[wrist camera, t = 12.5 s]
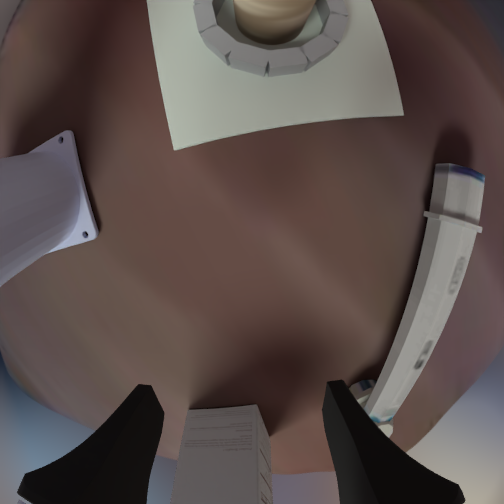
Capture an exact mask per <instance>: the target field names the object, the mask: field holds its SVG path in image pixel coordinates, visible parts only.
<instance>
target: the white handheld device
mask: <svg viewBox="0 0 504 504" xmlns="http://www.w3.org/2000/svg"><path fill="white" fill-rule="evenodd" d="M484 180H485V176H484V175H483V174H481V173H479V172H477V171H475V170H473V169H471V168H467V167H463V166H459V165H455V164H450V163H444V164H436V167H435V175H434V183H433V191H432V197H431V203H430V209H429V212H427V211H424V215H423V216H425V217H428V221H427V226H426V231H425V236H424V241H423V246H422V250H421V254H420V259H419V263H418V267H417V270H416V274H415V278H414V282H413V285H412V289H411V292H410V295H409V299H408V302H407V305H406V308H405V311H404V314H403V317H402V320H401V323H400V326H399V329H398V332H397V334H396V337H395V340H394V342H393V345H392V347H391V350H390V353H389V355H388V357H387V360H386V362H385V365H384V367H383V369H382V372H381V374H380V376H379V378H378V381H375V380H362V381H360V382H358V383H355V384H353V385H351V387H350V388H349V390H350V391H351V393H352V394H353V396H354V397H355V398H356V400H357V401H358V403H359V404H360V405H361V407H362V408H363V409H364V410H365V412H366V413H367V414H368V415H369V417H370V418H371V419H372V420H373V421H374V423H375V424H376V425H377V426H378V427H379V428H380V429H381V430H382V431H383V432H384V434H385V435H386V436H387V437H388V438H389V437H390V435H391V434H392V432H393V418H392V417H393V416H394V415H395V413H396V412H397V410H398V409H399V407H400V406H401V404H402V403H403V401H404V400H405V398H406V396H407V395H408V393H409V392H410V390H411V388H412V387H413V385H414V383H415V382H416V380H417V378H418V377H419V375H420V373H421V371H422V370H423V368H424V366H425V364H426V362H427V360H428V359H429V357H430V355H431V353H432V351H433V349H434V347H435V345H436V343H437V341H438V339H439V337H440V335H441V332H442V330H443V328H444V326H445V324H446V321H447V319H448V317H449V314H450V312H451V310H452V307H453V305H454V302H455V299H456V297H457V294H458V292H459V289H460V286H461V283H462V280H463V278H464V275H465V272H466V269H467V265H468V262H469V259H470V256H471V252H472V249H473V245H474V241H475V237H476V233H477V232H479V233H482V227H479V226H478V224H479V218H480V212H481V205H482V198H483V190H484Z"/></svg>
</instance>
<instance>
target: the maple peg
mask: <svg viewBox="0 0 504 504" xmlns="http://www.w3.org/2000/svg"><path fill="white" fill-rule="evenodd" d="M315 2H316V0H233V6H234V13H235V20H236V24H237V27H238V29H239V30H240V32H241V33H242V34H243V35H244V36H246V37H247V38H248V39H250V40H252V41H254V42H257V43H260V44H265V45H279V44H284V43H287V42H290V41H292V40H293V39H295V38H296V37H297V36H298V35H299V34H300V33H301V32H302V30H303V27H304V25H305V23H306V21H307V19H308V17H309V15H310V13H311V10H312V8H313V6H314V4H315Z"/></svg>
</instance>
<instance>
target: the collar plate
mask: <svg viewBox="0 0 504 504" xmlns="http://www.w3.org/2000/svg"><path fill="white" fill-rule="evenodd" d="M147 6H148V13H149V20H150V27H151V34H152V40H153V46H154V52H155V58H156V64H157V70H158V75H159V80H160V86H161V91H162V96H163V101H164V106H165V111H166V116H167V120H168V125H169V130H170V134H171V139H172V143H173V147H174V150H179V149H183V148H186V147H190V146H194V145H198V144H202V143H206V142H210V141H214V140H218V139H222V138H227V137H231V136H236V135H241V134H246V133H251V132H256V131H261V130H267V129H272V128H278V127H284V126H291V125H298V124H305V123H313V122H321V121H330V120H340V119H351V118H366V117H386V116H403V115H404V113H403V108H402V102H401V98H400V93H399V88H398V84H397V80H396V76H395V72H394V68H393V64H392V61H391V57H390V54H389V50H388V47H387V44H386V40H385V37H384V34H383V31H382V28H381V26H380V23H379V20H378V17H377V15H376V12H375V10H374V7H373V4H372V2H371V0H316V2H315V4H314V6H313V8H312V10H311V13H310V15H309V17H308V19H307V21H306V23H305V25H304V27H303V30H302V32H301V33H300V34H299V35H298V36H297V37H296V38H295V39H293V40H292V41H290V42H287V43H284V44H279V45H265V44H260V43H257V42H254V41H252V40H250V39H248V38H247V37H246V36H244V35H243V34H242V33H241V32H240V30H239V29H238V27H237V24H236V20H235V13H234V6H233V0H147Z"/></svg>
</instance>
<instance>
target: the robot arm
mask: <svg viewBox="0 0 504 504" xmlns="http://www.w3.org/2000/svg"><path fill="white" fill-rule="evenodd" d="M62 137H63V143H62V142H61V139H62ZM85 231H86V232H87V233H88V236H87V235H86V234H85ZM98 233H99V232H98V228H97V225H96V222H95V219H94V215H93V212H92V209H91V205H90V202H89V198H88V195H87V191H86V187H85V183H84V179H83V175H82V171H81V167H80V163H79V158H78V154H77V149H76V144H75V139H74V134H73V132H72V131H71V130H66V131H64V132H62V133H60V134H58V135H57V136H55V137H53V138H51V139H50V140H48V141H46V142H45V143H43V144H42V145H40V146H38V147H37V148H35V149H34V150H32V151H30V152H29V153H27V154H22V155H17V156H11V157H6V158H1V159H0V286H2V285H3V284H4V283H5V282H7V281H8V280H9V279H11V278H12V277H13V276H15V275H16V274H17V273H19V272H20V271H22V270H23V269H24V268H26V267H27V266H29V265H30V264H31V263H33V262H34V261H36V260H37V259H39V258H40V257H42V256H43V255H44V254H47V253H50V252H53V251H56V250H59V249H63V248H66V247H69V246H73V245H76V244H80V243H83V242H86V241H90V240H93V239H95V238H96V237H97V236H98ZM322 413H323V421H324V428H325V433H326V437H327V441H328V445H329V448H330V452H331V456H332V460H333V464H334V467H335V471H336V476H337V481H338V489H339V497H340V504H463V503H464V502H465V498H464V495H463V492H462V490H461V489H460V487H459V485H458V484H456V483H454V482H452V481H450V480H447V479H445V478H443V477H441V476H440V475H438V474H436V473H434V472H432V471H431V470H429V469H427V468H426V467H424V466H423V465H421V464H420V463H418V462H417V461H416V460H414V459H413V458H411V457H410V456H409V455H407V454H406V453H405V452H404V451H403V450H401V449H400V448H399V447H398V446H397V445H396V444H395V443H394V442H392V441H391V440H390V439H389V438H388V437H387V436H386V435H385V434H384V432H383V431H382V430H381V429H380V428H379V427H378V426H377V425H376V424H375V423H374V421H373V420H372V419H371V418H370V417H369V415H368V414H367V413H366V412H365V410H364V409H363V408H362V407H361V405H360V404H359V403H358V401H357V400H356V398H355V397H354V396H353V394H352V393H351V391H350V390H349V388H348V387H347V385H346V384H345V382H344V381H343V380H336V381H329V382H327V386H326V392H325V397H324V403H323V408H322ZM163 421H164V411H163V409H162V407H161V405H160V403H159V401H158V399H157V397H156V395H155V392H154V390H153V388H152V386H151V385H143V384H138V385H137V386H136V388H135V389H134V390H133V391H132V392H131V393H130V394H129V396H128V397H127V398H126V399H125V400H124V401H123V403H122V404H121V405H120V406H119V407H118V408H117V409H116V411H115V412H114V413H113V414H112V415H111V416H110V417H109V418H108V419H107V420H106V421H105V422H104V423H103V424H102V425H101V426H100V427H99V428H98V429H97V430H96V431H95V432H94V433H93V434H92V435H91V436H90V437H89V438H88V439H86V440H85V441H84V442H83V443H81V444H80V445H79V446H78V447H76V448H75V449H73V450H72V451H71V452H69V453H68V454H66V455H65V456H63V457H61V458H60V459H58V460H56V461H54V462H52V463H50V464H48V465H46V466H44V467H42V468H39V469H37V470H34V471H31V472H29V473H26V474H25V475H24V477H23V479H22V482H21V484H20V486H19V489H18V491H17V493H18V494H19V495H20V496H21V497H23V498H24V499H26V500H27V501H29V502H31V503H32V504H146V503H147V492H148V484H149V478H150V473H151V469H152V465H153V462H154V458H155V455H156V451H157V448H158V444H159V441H160V437H161V433H162V428H163ZM18 504H26V503H24V502H22V501H21V500H19V501H18Z"/></svg>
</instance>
